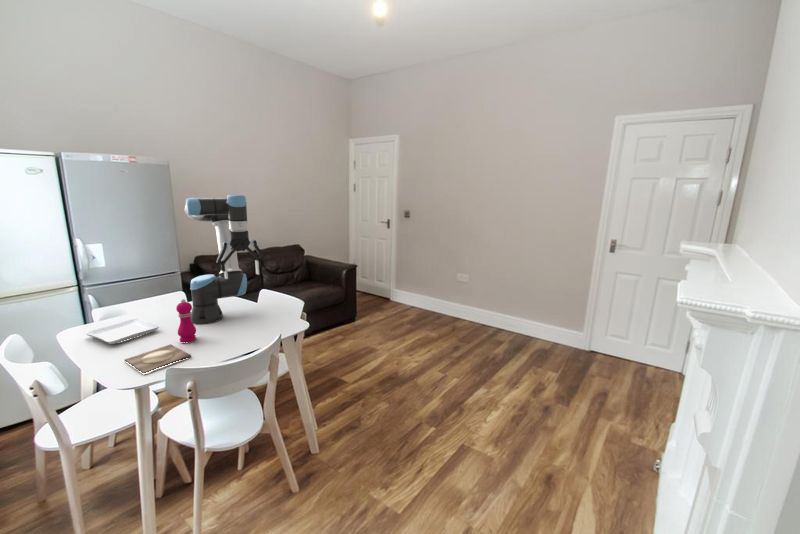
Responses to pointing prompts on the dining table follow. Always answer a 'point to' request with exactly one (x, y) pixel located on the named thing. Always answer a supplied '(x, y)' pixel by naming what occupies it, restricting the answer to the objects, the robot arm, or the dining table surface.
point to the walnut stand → (157, 358)
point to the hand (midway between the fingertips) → (242, 276)
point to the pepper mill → (185, 322)
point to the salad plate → (134, 321)
